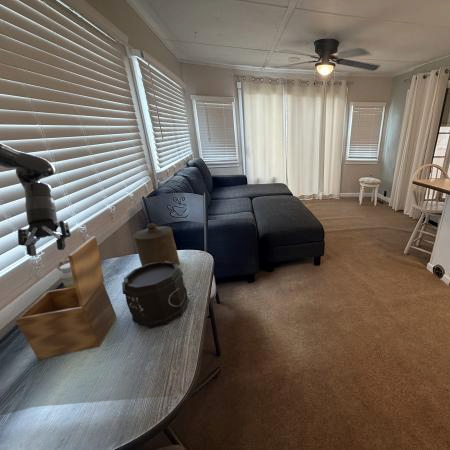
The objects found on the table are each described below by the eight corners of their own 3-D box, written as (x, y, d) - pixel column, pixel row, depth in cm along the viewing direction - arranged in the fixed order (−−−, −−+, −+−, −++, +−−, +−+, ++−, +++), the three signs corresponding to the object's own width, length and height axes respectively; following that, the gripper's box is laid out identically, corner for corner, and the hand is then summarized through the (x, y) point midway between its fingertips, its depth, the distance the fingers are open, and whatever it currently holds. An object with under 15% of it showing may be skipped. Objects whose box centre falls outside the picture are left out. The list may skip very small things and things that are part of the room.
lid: (67, 255, 60) (71, 255, 60) (92, 236, 71) (95, 236, 71) (79, 306, 65) (83, 306, 65) (101, 280, 76) (104, 280, 76)
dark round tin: (192, 289, 95) (184, 255, 89) (188, 321, 79) (178, 281, 73) (141, 300, 90) (129, 264, 84) (125, 336, 74) (109, 294, 68)
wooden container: (184, 259, 118) (175, 217, 110) (171, 275, 104) (159, 229, 96) (154, 260, 118) (142, 218, 109) (137, 277, 104) (121, 231, 96)
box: (38, 360, 67) (14, 320, 61) (65, 327, 78) (47, 291, 73) (99, 346, 70) (82, 307, 65) (116, 317, 82) (103, 282, 76)
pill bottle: (90, 283, 101) (80, 259, 96) (88, 291, 96) (77, 266, 91) (69, 289, 97) (58, 264, 93) (66, 297, 92) (54, 271, 88)
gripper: (7, 212, 83) (13, 257, 81) (56, 203, 87) (62, 246, 85) (27, 217, 90) (32, 258, 88) (71, 209, 94) (77, 248, 92)
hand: (47, 252), depth 87 cm, fingers open, 8 cm apart
